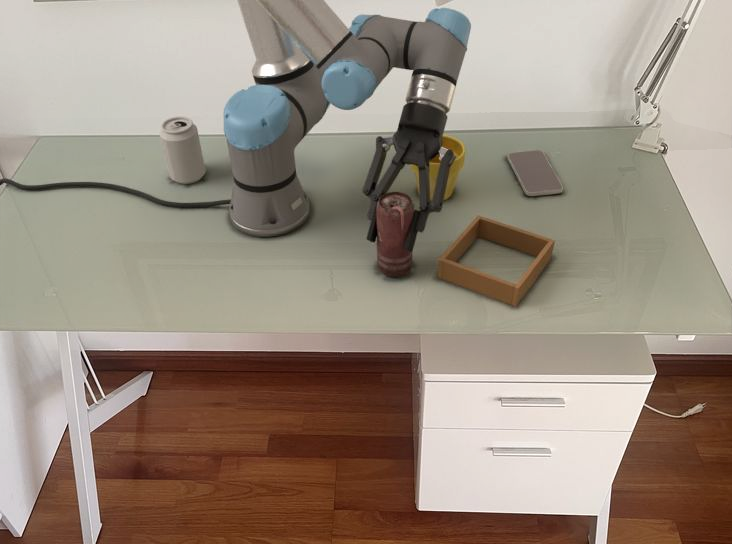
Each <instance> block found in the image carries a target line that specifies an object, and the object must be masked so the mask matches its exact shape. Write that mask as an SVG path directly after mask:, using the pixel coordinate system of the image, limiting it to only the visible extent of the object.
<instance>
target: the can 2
mask: <svg viewBox="0 0 732 544" xmlns="http://www.w3.org/2000/svg"><path fill="white" fill-rule="evenodd" d="M414 210H415V204H414V201H413V199H412V196H410V195H409V194H408V193H406V192H402V191H388V192H387V193H386V194H384V195H382V196H381V197H380V199H379V201H378V203H377V238H376V266H377V269H378V270H379V272H380V273H381V274H382V275H383V276H386V277H389V278H401V277H404V276H406V275H407V274H408V273H409V272H410V271H411V270H412V268H413V252H414V251H412V252H411V251H408V250H406V249H404V247H405V243H406V239H407V236H408V232H409V228H410V225H411V221H412V218H413V214H414Z"/></svg>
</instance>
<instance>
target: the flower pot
mask: <svg viewBox="0 0 732 544" xmlns="http://www.w3.org/2000/svg"><path fill="white" fill-rule="evenodd" d="M441 142H442V147H443V148H445V149H447V150H452V151H453V152H454V154H455V155H456V159H455V160H454V162H453V164H452V166H451V167H450V171H449V176H448V181H447V186H446V191H445V195H444V200H443V201H445V200H447V199H449V198H450V197H451V196H452V194H453V192H454V189H455V185H456V182H457V179H458V176H459V173H460V172H461V171H462V170H463V168H464V165H465V161H466V160H465V159H466V147H465V144H464V143H463V142H462V141H461V140H460V139H458V138H456V137H454V136H452V135H447V134H443V136H442V141H441ZM439 157H440V153H439V154H438V155H437V156H436V157H434V158H433V159H432V160H431V161H430V172H429V183H430V202H432V200H433V195H434V190H435V185H436V180H437V175H438V171H439V166H440V162H441V161H440V159H439ZM409 166H410V169H411V170H412V171H413V175H414V179H415V184H416V188H417V193H418V194H419V170H418V166H416V165H414V164H411V165H409Z"/></svg>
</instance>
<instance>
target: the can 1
mask: <svg viewBox="0 0 732 544" xmlns="http://www.w3.org/2000/svg"><path fill="white" fill-rule="evenodd" d="M160 127H161V129H160V131H159V139H160V143H161V146H162V150H163V154H164V158H165V162H166V163H165V164H166V167H167V172H168V175H169V178H170V179H171V180H172V181H174V182H176V183H178V184H181V185H191V184H193V183H196V182H198V181H200V180H201V179H202V178H203V176H204V175H205V174H206V172H207V169H206V165H205V159H204V155H203V150H202V145H201V140H200V136H199V130H198V126H197V125H196V124H195V123H194V122H193V120H192V118H190V117H187V116H173V117H170V118H168V119H166V120H164V121H163V122H162V123H161V125H160Z"/></svg>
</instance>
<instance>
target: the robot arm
mask: <svg viewBox="0 0 732 544" xmlns="http://www.w3.org/2000/svg"><path fill="white" fill-rule="evenodd" d="M236 1H237V3H238V7H239V11H240V13H241V16H242V20H243V22H244V26H245V29H246V32H247V35H248V38H249V41H250V44H251V47H252V50H253V51H252V52H253V53H254V57H255V62H254V64H253V65H252V68H251V74H252V78H253V80H254V83H255V85H251V86H248V88H247V89H240V90H238V91H236V93H234V94H233V95H231V96H230V98H228V100H227V102H226V103H225V105H224V108H223V113H222V117H223V133H224V135H225V138H226V145H227V149H228V155H229V159H230V160H229V161H230V167H231V172H232V177H233V186H232V187H233V188H232V192H231V197H230V199H220V200H214V201H202V202H201V201H199V202H198V201H197V202H176V201H167V200H163V199H160V198H157V197H155V196H152V195H151V194H148V193H146V192H143V191H141V190H137V189H135V188H130V187H127V186H122V185H119V184H115V183H109V182H108V183H107V182H99V181H98V182H97V181H65V182H53V183H45V184H31V185H30V184H29V185H28V184H22V183H19V182H17V181H15V180H12V179H9V178H0V186H2V185H3V184H8V185H10V186H13V187H15V188H17V189H21V190H27V191H36V190H37V191H38V190H47V189H54V188H55V189H56V188H68V187H69V188H71V187H91V188H92V187H94V188H105V189H111V190H117V191H121V192H125V193H128V194H130V195H131V194H132V195H134V196H139V197H142V198H143V199H146V200H147V201H150V202H152V203H155V204H157V205H161V206H166V207H172V208H207V207H208V208H209V207H217V206H224V205H225V206H226V205H229V216H230V221H231V223H232V225H233V226H234V228H236V229H237V230H238V231H239V232H241V233H243V234H246V235H248V236H253V237H258V238H272V237H278V236H283V235H286V234H288V233H291V232H293V231H295V230H297V229H298V228H300V227H301V226H303V224H304V223H306V221H307V220H308V218H309V216H310V201H309V198H308V195H307V193H306V191H305V190H304V189H303V185H302V183H301V181H300V179H299V177H298V175H297V167H296V157H295V149H296V148H297V146H298V145H299V144H300V142H301V141H302V140H303V139H304V138H305V137H306V136H307V135H308V134H309V133H310V131H311V130H312V129H313V128H314V127H315V126H316V125H317V124H318V123H319V122H320V121H321V120H322V119H323V117H324V116H325V115H326V113H327V111H328V109H329V107H330V106H331V105H332V106H334V107H335V108H337V109H340V110H343V111H351V110H352V111H353V110H356V109H358V108H359V107H361V106H363V104H364V103H365V102H366V101H368V99H370V98H371V97H372V96H373V95H374V93H375V91H376V90H377V88H378V87H379V85H381V83H382V82H383V80H384V79H386V77H387V76H388V75H389V73H390V72H391V71H392V70H393V69H394V68H395V69H401V70H406V71H407V70H408V71H412V73H411V76H410V81H409V84H408V89H407V92H406V96H405V102H406V103H405V104H404V105H403V106H402V110H401V114H400V117H399V121H398V125H397V129H396V131H395V133H393V135H392V136H391V137H390V136H389V137H382V136H380V135H379V136H377V137H376V138H375V152H374V155H373V157H372V161H371V164H370V166H369V168H368V169H369V170H368V173H367V176H366V179H365V181H364V185H363V188H362V193H363V195H365V196H366V197H368V198H369V200H370V203H369V207H368V210H367V215H366V219H367V221H368V220H369V221H370V223H369V228H368V232H367V235H366V237H365V238H366V239H365V240H367V241H369V242H370V243H376V242H377V203H378V201H379V199H380V197H381V196H382V195H384V194H386V193H389V191H390V189H391V187H392V185H393V184H394V182H395V181H396V179H397V177H398V175H399V174H400V172H401V171H402V170H403V169H404V168H405V166H406V165H408V166H410V165H411V164H414V165H416V166H418V170H419V193H418V195H419V206H418V210H417V209H414V214H413V218H412V221H411V225H410V228H409V232H408V236H407V239H406V243H405V247H404V249H406V250H408V251H411V252H412V251H413V250H414V247H415V243H416V240H417V236H418V233H423V232H424V231H425V229H426V226H427V222H428V218H429V215H430V214H431V213H440V212H441V211H442V210H443V205H444V201H445V200H444V195H445V191H446V186H447V181H448V176H449V171H450V167H451V166H452V164H453V162H454V160H455V159H456V155H455V154H454V152H453V151H452V150H447V149H445V148H443V147H442V142H441V141H442V136H443V135H444V132H445V129H446V125H447V121H448V115H447V114H448V113H449V112H450V111H451V107H452V104H453V99H454V95H455V92H456V87H457V83H458V81H459V76H460V73H461V69H462V66H463V63H464V59H465V56H466V53H467V51H468V44H469V40H470V34H471V29H472V24H471V21H470V19H469V17H467V16H466V15H465V14H464V13H462V12H461V11H458V10H456V9H452V8H449V7H440V8H437V7H436V8H433V9H431V10H430V11H429V12H428V14H427V17H426V18H425V20H424V21H414V20H407V19H401V18H397V17H389V16H383V15H381V14H364V13H362V14H358V15H357V16H355V17H354V18H353V19H352V21H351V26H349V27H348V26H347V25H346V24H345V22H343V20H342V19H341V18H340V16H338V15H337V13H336V12H335V11H334V10H333V8H331V6H329V4H328V3H327V2H326V1H325V0H236ZM392 146H393V148H394V150H395V153H394V156H393V157H392V159H391V162H390V163H389V166H388V168H387V169H386V170H385V173H384V174H383V175H382V177H381V173H382V170H383V167H384V165H385V162H386V158H387V154H388V152H389V151H390V150H391V147H392ZM439 153H440V157H439V159H440V161H441V162H440V166H439V171H438V175H437V180H436V185H435V190H434V195H433V200H432V201H430V183H429V172H430V161H431V160H432V159H433V158H434V157H436V156H437V155H438V154H439ZM380 177H381V179H380ZM379 179H380V181H379ZM413 252H414V251H413Z"/></svg>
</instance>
